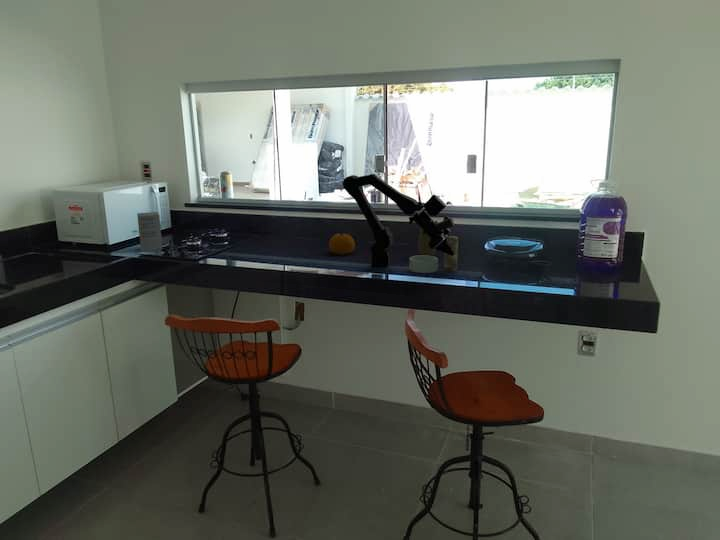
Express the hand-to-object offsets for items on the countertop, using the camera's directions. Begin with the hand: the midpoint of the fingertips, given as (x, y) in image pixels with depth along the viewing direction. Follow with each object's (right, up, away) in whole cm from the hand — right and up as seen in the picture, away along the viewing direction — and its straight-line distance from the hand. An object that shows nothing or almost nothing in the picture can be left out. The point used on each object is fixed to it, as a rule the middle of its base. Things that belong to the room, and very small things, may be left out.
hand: (454, 253), depth 216 cm
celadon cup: (-12, -6, +3) cm, 14 cm away
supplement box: (-135, +3, +45) cm, 143 cm away
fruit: (-45, +1, +33) cm, 56 cm away
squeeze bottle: (-7, 0, +28) cm, 29 cm away
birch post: (-1, -6, +2) cm, 7 cm away
